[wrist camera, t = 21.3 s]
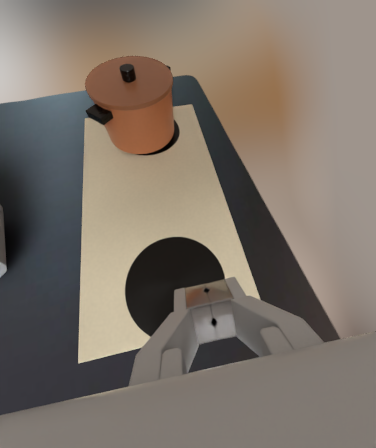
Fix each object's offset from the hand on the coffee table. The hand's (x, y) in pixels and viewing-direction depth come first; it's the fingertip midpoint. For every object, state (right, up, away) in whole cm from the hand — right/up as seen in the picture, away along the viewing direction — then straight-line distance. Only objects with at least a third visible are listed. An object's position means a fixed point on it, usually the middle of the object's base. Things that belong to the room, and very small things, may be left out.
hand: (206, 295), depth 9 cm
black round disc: (-3, -5, +16) cm, 16 cm away
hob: (-7, +8, +22) cm, 24 cm away
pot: (-10, +21, +26) cm, 35 cm away
